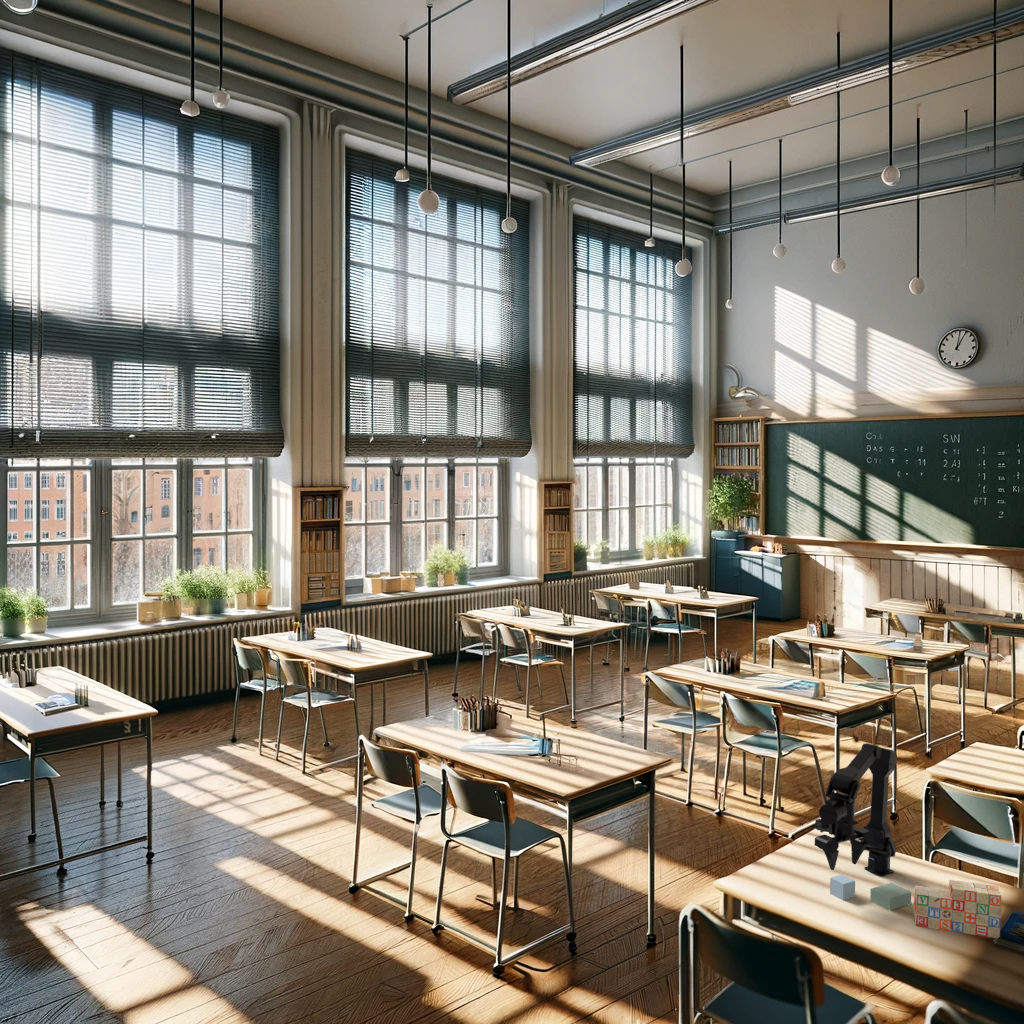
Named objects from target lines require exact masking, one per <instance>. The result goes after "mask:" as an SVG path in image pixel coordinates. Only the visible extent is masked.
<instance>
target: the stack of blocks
mask: <svg viewBox="0 0 1024 1024" xmlns="http://www.w3.org/2000/svg"><path fill="white" fill-rule="evenodd" d="M913 893H914V895H913V918H914V924H915V926H917V927H923V928H929V929H933V928H934V929H935V930H940V931H949V932H955V933H961V934H967V935H975V936H980V937H985V938H994V939H998V938H999V937H1000V938H1001V920H1002V919H1001V918H1002V894H1001V891H1000V890H999V887H998V886H996V885H988V884H985V883H979V882H971V881H970V882H969V881H963V880H962V881H961V880H954V879H949V880H948V889H942V888H937V887H930V886H923V885H914V891H913Z"/></svg>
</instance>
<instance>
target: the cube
mask: <svg viewBox="0 0 1024 1024" xmlns="http://www.w3.org/2000/svg"><path fill="white" fill-rule="evenodd" d="M829 880H830V881H829V883H830V885H829V888H830V889H829V894H830V895H832V896H833V897H836V898H838V899H840V900H842V901H845V900H848V899H849V900H850V899H852V898H855V897H856V880H855V879H852V878H850V877H849V876H846V875H844V874H839V875H835V876H832V877H831V876H830V879H829Z"/></svg>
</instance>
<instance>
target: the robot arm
mask: <svg viewBox="0 0 1024 1024" xmlns="http://www.w3.org/2000/svg"><path fill="white" fill-rule="evenodd" d="M897 762H898V756H897V753H895V751H894V750H893V749H890V748H885V747H881V746H879V745H876V744H872V743H863V744H862V746H861V749H860V750H859V751H858V753H857V754H856V755H855V756H854V757H853V758H852V760H851V761H850V763H849V764H848V765H847V766H846V767H841V768H839V769H837V770H836V771H835V772H834V773H833V774H832V775H831V777H830V780H829V782H828V786H827V789H826V792H825V795H824V796H825V798H826V797H827V798H829V799H826V800H825V803H824V804H823V805H821V806H820V808H819V810H818V815H819V817H820V818H817V819H815V823H814V827H815V829H816V830H817V831H819V832H820V833H824V832H827V833H828V835H827V834H821V835H817V836H815V837H814V846H815V847H818V849H820V850H822V852H823V853H824V855H825V857H826V860H827V862H828V863H827V864H828V866H829V869H830V870H831V871H834V870H835V869H836V866H837V865H836V864H837V861H838V856H839V853H840V850H838V849H839V847H840V844H842V843H846V842H849V843H850V845H851V846H850V848H851V863H852V864H853V865H856V864H857V863H858V861H859V859H860V857H861V856H862V854H863V853H864V851H867V852H868V856H867V866H864V870H866V871H868V872H870V873H872V874H874V873H875V874H874V875H876V876H879V877H883V876H886V874H887V875H889V874H894V873H895V871H894V870H893V869H891V857H892V858H893V857H896V852H897V845H896V844H895V842H894V841H893V839H892V830H891V827H890V826H889V824H888V821H887V819H888V818H887V817H888V816H887V814H888V798H889V783H890V781H889V779H890V776H891V775H892V774H893V772H894V771H895V769H896V764H897ZM868 770H869V771H870V773H871V776H872V777H871V778H872V782H871V797H870V798H871V799H870V800H871V802H870V814H869V815H870V816H869V821H868V823H867V824H866V825H864V826H863V827H861V826H859V825H858V826H855V825H857V824H858V820H857V819H855V808H856V807H855V806H856V805H855V801H856V799H857V798H858V796H857V795H858V793H859V791H860V789H861V779H862V777H863V776H864V775H865V773H866V772H867V771H868ZM830 835H831V836H833V837H831V836H830ZM893 872H894V873H893Z"/></svg>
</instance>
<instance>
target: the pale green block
mask: <svg viewBox="0 0 1024 1024" xmlns="http://www.w3.org/2000/svg"><path fill="white" fill-rule="evenodd" d="M869 900H870V902H871V903H873V902H874V904H875V903H876V904H875V905H878V906H879V905H880V907H881V906H882V908H883V907H884V908H883V909H886V910H888V911H889V910H891V911H893V909H894V910H897V909H900V908H899V907H901V908H903V907H902V906H904V907H906V906H905V905H907V906H909V905H908V904H910V903H911V904H912V891H910V890H908V889H906V888H904V887H902V886H900V885H898V884H895V883H894V882H889V883H885V884H883V885H878V886H875V887H872V888H870V899H869ZM896 908H897V909H896Z"/></svg>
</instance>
